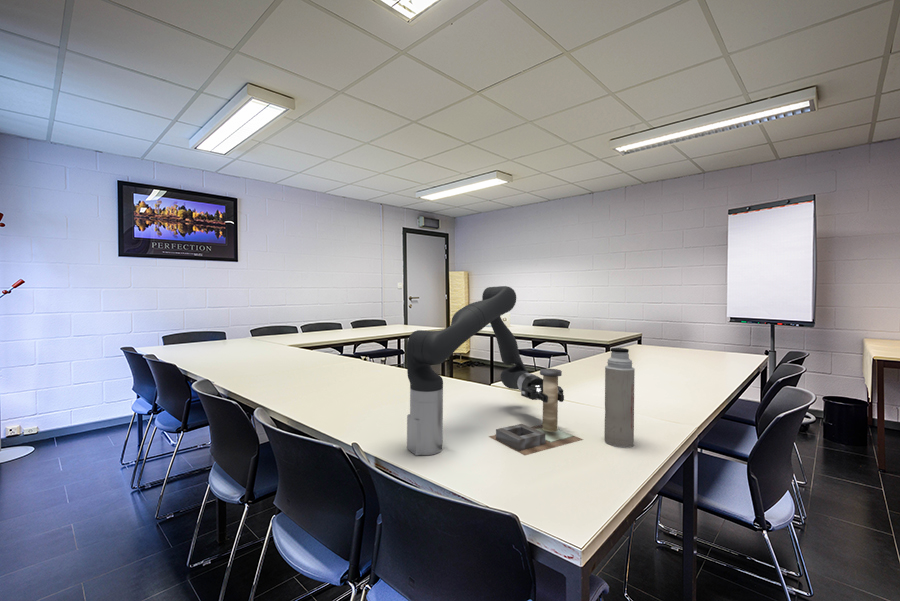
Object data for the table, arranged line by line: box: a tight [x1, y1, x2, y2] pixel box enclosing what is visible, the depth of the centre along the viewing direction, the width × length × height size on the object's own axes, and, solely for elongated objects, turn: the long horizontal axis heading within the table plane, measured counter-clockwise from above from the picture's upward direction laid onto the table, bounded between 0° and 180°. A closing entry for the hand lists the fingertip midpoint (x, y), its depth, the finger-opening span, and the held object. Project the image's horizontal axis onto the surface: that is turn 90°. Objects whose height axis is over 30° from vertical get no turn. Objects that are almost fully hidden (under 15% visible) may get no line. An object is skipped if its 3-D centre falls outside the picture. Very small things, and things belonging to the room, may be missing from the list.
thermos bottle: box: [603, 347, 636, 448], centre depth 114 cm, size 8×8×28 cm
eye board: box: [488, 423, 584, 456], centre depth 115 cm, size 23×16×4 cm
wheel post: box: [539, 368, 563, 432], centre depth 118 cm, size 6×6×18 cm
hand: (554, 398), depth 115 cm, fingers closed on wheel post, 4 cm apart
